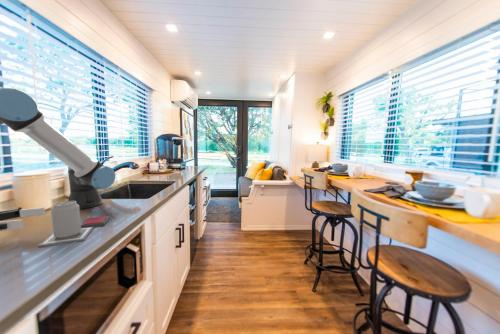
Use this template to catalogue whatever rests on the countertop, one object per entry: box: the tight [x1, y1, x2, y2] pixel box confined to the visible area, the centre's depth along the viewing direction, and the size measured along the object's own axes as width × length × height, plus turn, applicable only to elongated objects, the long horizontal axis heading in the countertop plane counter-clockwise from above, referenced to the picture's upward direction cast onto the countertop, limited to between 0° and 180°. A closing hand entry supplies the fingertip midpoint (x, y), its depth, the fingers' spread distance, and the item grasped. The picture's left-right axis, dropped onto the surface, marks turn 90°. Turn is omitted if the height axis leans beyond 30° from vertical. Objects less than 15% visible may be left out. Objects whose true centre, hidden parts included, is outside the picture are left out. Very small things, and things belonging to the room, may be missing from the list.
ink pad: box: [81, 215, 110, 228], centre depth 90 cm, size 9×8×2 cm
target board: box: [38, 227, 95, 248], centre depth 77 cm, size 12×12×1 cm
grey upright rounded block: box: [50, 200, 82, 239], centre depth 76 cm, size 8×8×12 cm
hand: (34, 216), depth 72 cm, fingers open, 13 cm apart
